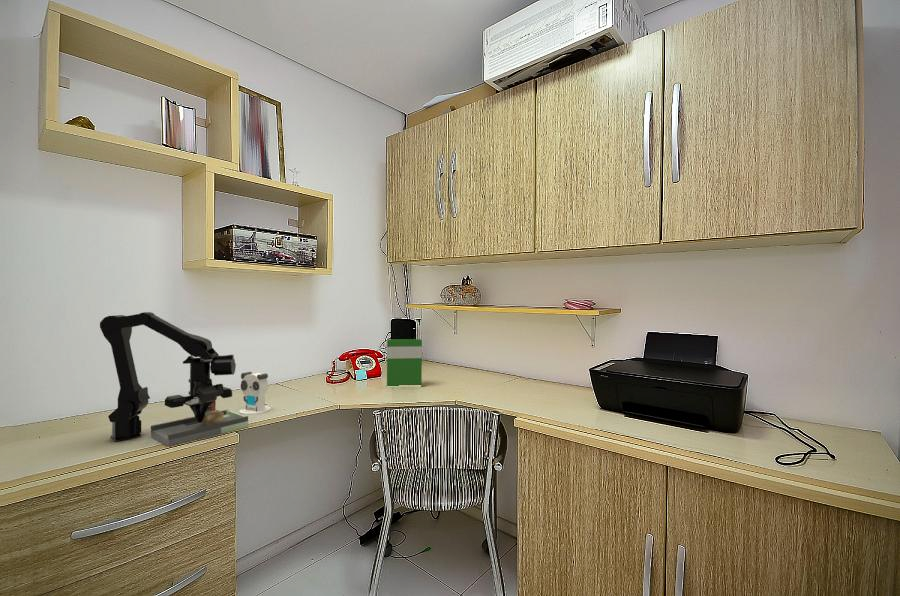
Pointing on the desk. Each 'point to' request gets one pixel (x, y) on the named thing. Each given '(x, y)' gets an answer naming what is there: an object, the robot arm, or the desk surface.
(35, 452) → the desk surface
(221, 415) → the maple block
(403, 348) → the hardback book
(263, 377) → the panda figurine
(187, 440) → the shallow grey tray
